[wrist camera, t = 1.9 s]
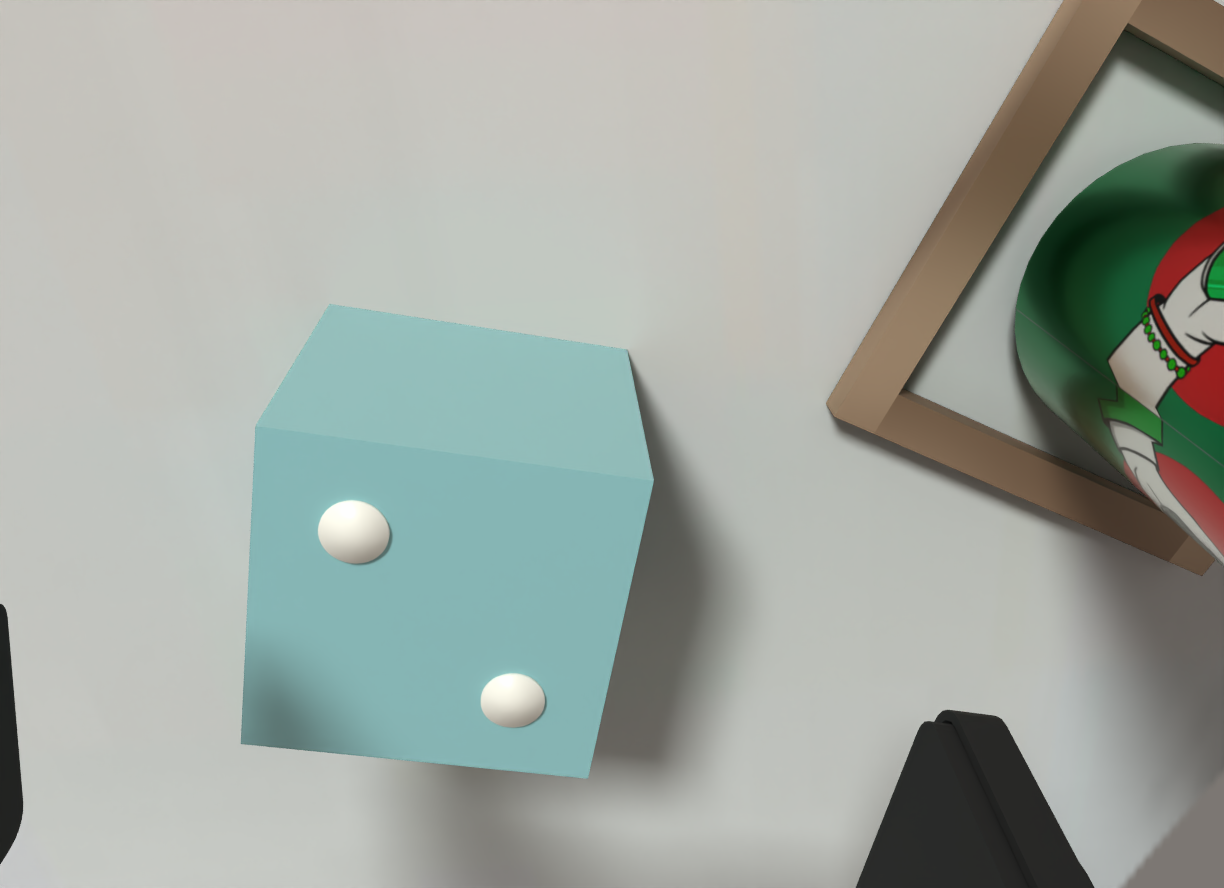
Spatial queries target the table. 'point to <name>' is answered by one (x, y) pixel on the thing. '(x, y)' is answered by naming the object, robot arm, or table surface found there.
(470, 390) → the die
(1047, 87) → the wooden frame
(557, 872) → the table surface
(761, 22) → the table surface
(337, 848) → the table surface
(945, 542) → the table surface
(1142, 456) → the soda can
